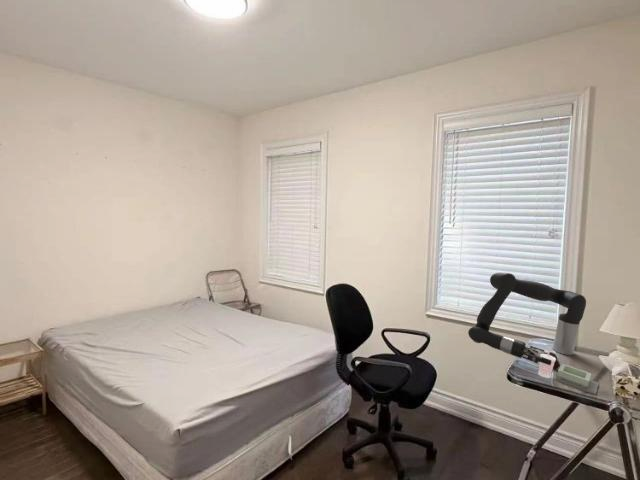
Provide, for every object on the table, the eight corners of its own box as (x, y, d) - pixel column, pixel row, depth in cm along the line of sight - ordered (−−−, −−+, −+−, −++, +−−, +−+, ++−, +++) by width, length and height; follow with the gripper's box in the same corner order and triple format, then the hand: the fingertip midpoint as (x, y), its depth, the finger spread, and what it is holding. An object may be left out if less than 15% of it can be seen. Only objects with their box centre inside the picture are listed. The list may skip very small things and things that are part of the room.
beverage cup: (555, 378, 152) (561, 349, 151) (544, 379, 151) (550, 349, 149) (544, 371, 158) (549, 343, 157) (533, 371, 157) (538, 343, 155)
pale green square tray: (560, 371, 161) (562, 362, 161) (598, 384, 152) (600, 375, 151) (555, 380, 151) (557, 371, 150) (595, 395, 141) (597, 385, 141)
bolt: (551, 362, 175) (553, 372, 162) (542, 355, 177) (543, 364, 164) (560, 355, 173) (562, 364, 160) (551, 347, 175) (552, 356, 163)
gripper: (509, 342, 158) (551, 356, 147) (517, 336, 168) (557, 348, 157) (507, 358, 158) (548, 373, 147) (515, 350, 169) (554, 364, 158)
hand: (552, 360), depth 152 cm, fingers open, 7 cm apart
